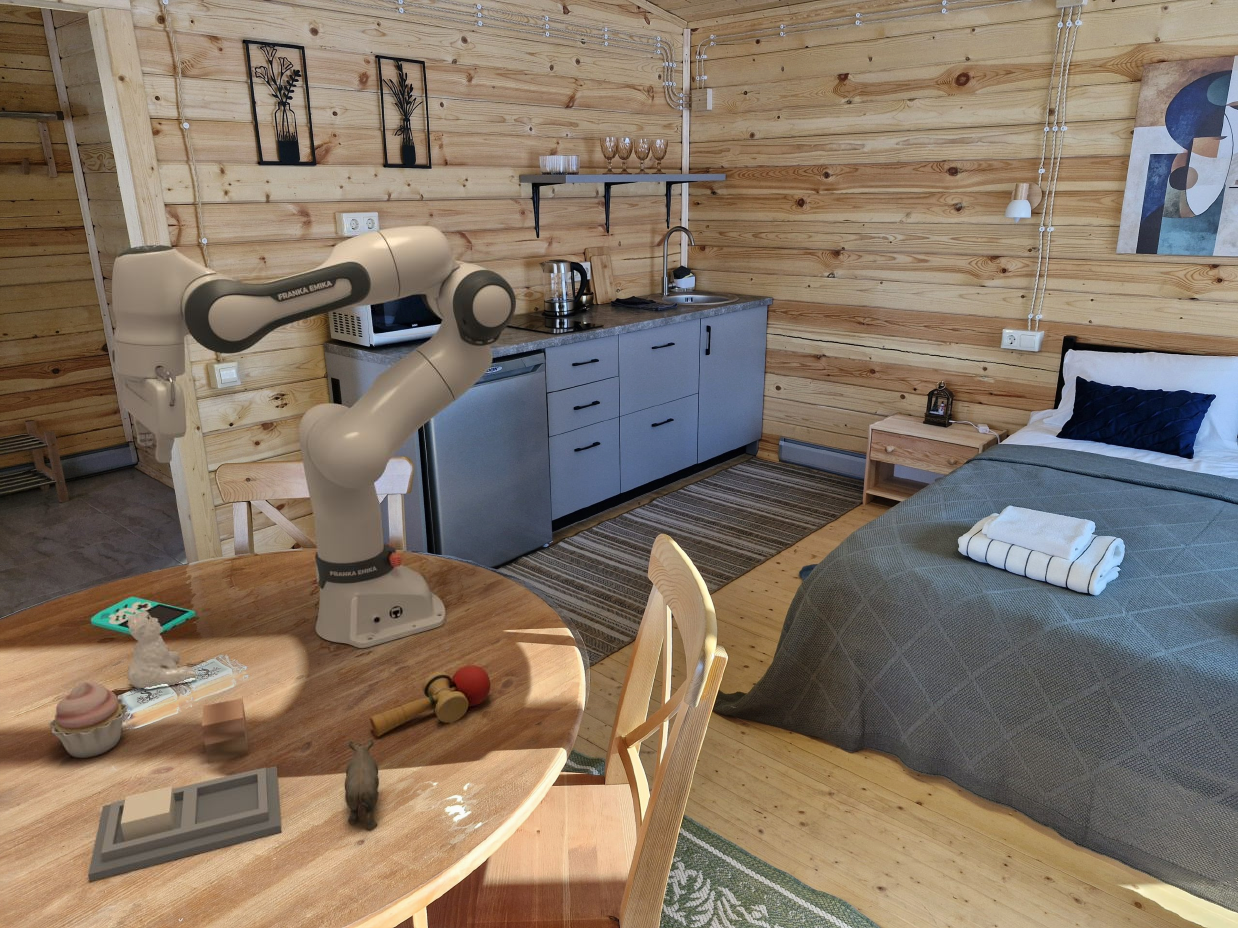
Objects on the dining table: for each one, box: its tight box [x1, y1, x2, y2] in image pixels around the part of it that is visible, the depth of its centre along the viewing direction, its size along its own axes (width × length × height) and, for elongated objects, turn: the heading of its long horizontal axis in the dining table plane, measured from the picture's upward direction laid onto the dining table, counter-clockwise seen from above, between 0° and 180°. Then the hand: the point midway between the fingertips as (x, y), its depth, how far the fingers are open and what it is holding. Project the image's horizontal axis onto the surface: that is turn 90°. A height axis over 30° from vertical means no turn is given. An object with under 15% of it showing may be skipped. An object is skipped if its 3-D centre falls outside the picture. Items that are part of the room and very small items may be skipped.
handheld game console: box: [90, 596, 196, 636], centre depth 153 cm, size 10×16×1 cm, turn 69°
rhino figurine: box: [344, 739, 380, 831], centre depth 108 cm, size 4×14×6 cm, turn 16°
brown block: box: [201, 698, 249, 765], centre depth 117 cm, size 5×5×6 cm
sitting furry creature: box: [126, 611, 196, 689], centre depth 132 cm, size 10×9×12 cm
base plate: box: [88, 765, 283, 882], centre depth 103 cm, size 20×12×4 cm, turn 113°
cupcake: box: [47, 680, 129, 759], centre depth 116 cm, size 9×9×10 cm
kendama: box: [369, 664, 491, 738], centre depth 125 cm, size 8×6×18 cm
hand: (154, 452), depth 126 cm, fingers open, 8 cm apart
